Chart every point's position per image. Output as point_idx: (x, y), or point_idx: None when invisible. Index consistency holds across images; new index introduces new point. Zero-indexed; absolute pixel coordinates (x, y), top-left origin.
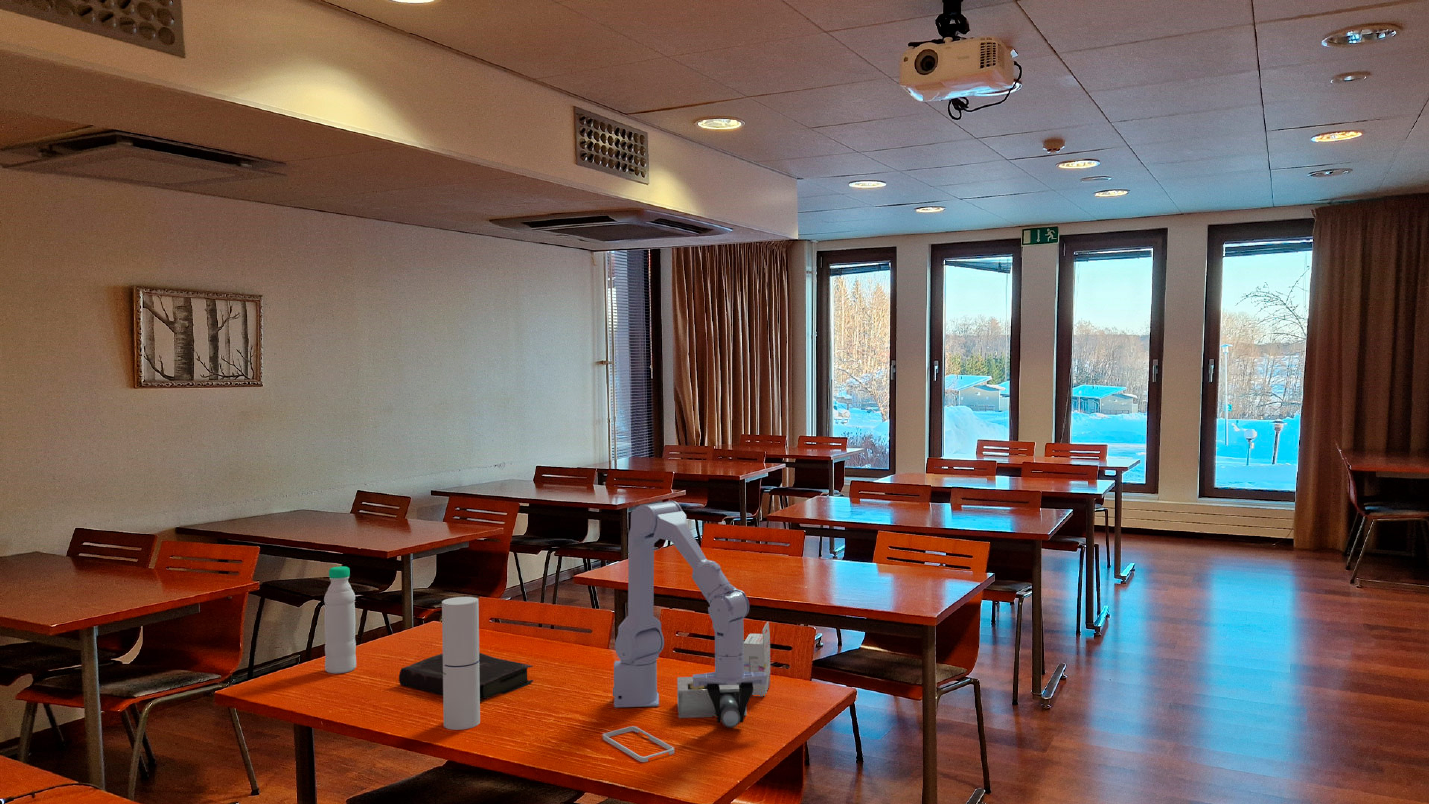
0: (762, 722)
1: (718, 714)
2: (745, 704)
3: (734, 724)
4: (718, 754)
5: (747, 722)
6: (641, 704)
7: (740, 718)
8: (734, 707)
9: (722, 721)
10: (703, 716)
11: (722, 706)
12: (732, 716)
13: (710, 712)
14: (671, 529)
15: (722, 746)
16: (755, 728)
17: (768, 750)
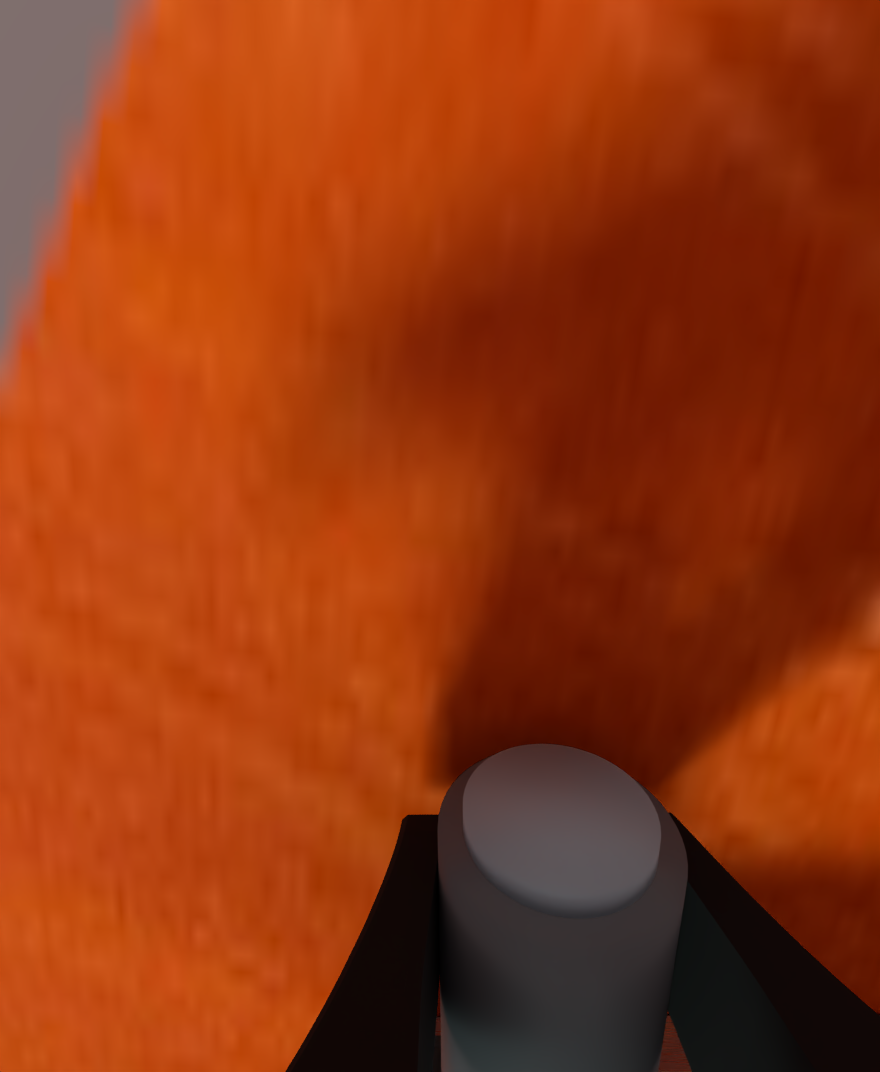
0: (231, 893)
1: (720, 886)
2: (343, 1022)
3: (504, 756)
4: (768, 83)
5: (360, 901)
6: None
7: (432, 842)
8: (515, 993)
9: (644, 795)
10: None
11: (657, 1057)
12: (543, 827)
13: (668, 1061)
14: None
15: (672, 350)
16: (295, 778)
17: (159, 173)
